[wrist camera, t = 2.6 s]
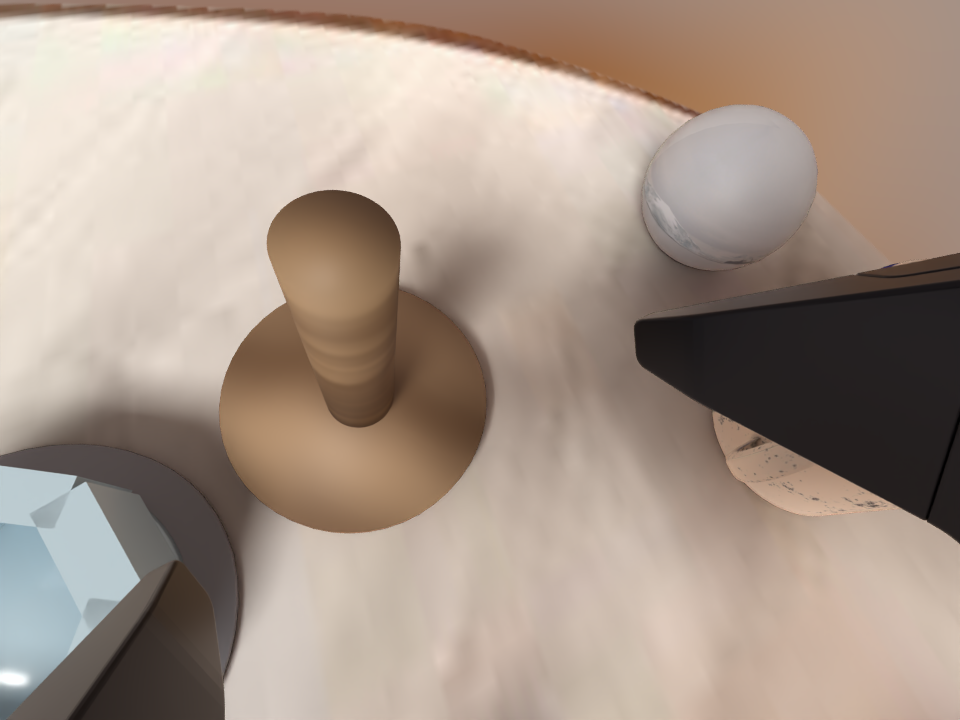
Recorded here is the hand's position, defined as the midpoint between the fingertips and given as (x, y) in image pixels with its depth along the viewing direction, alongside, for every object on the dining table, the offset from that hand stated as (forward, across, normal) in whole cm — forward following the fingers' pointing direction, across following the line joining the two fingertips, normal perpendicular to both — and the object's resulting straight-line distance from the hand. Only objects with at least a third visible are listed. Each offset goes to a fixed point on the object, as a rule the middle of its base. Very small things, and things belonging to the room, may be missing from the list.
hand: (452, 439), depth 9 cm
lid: (+12, 0, -5) cm, 14 cm away
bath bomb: (+13, +21, -5) cm, 25 cm away
